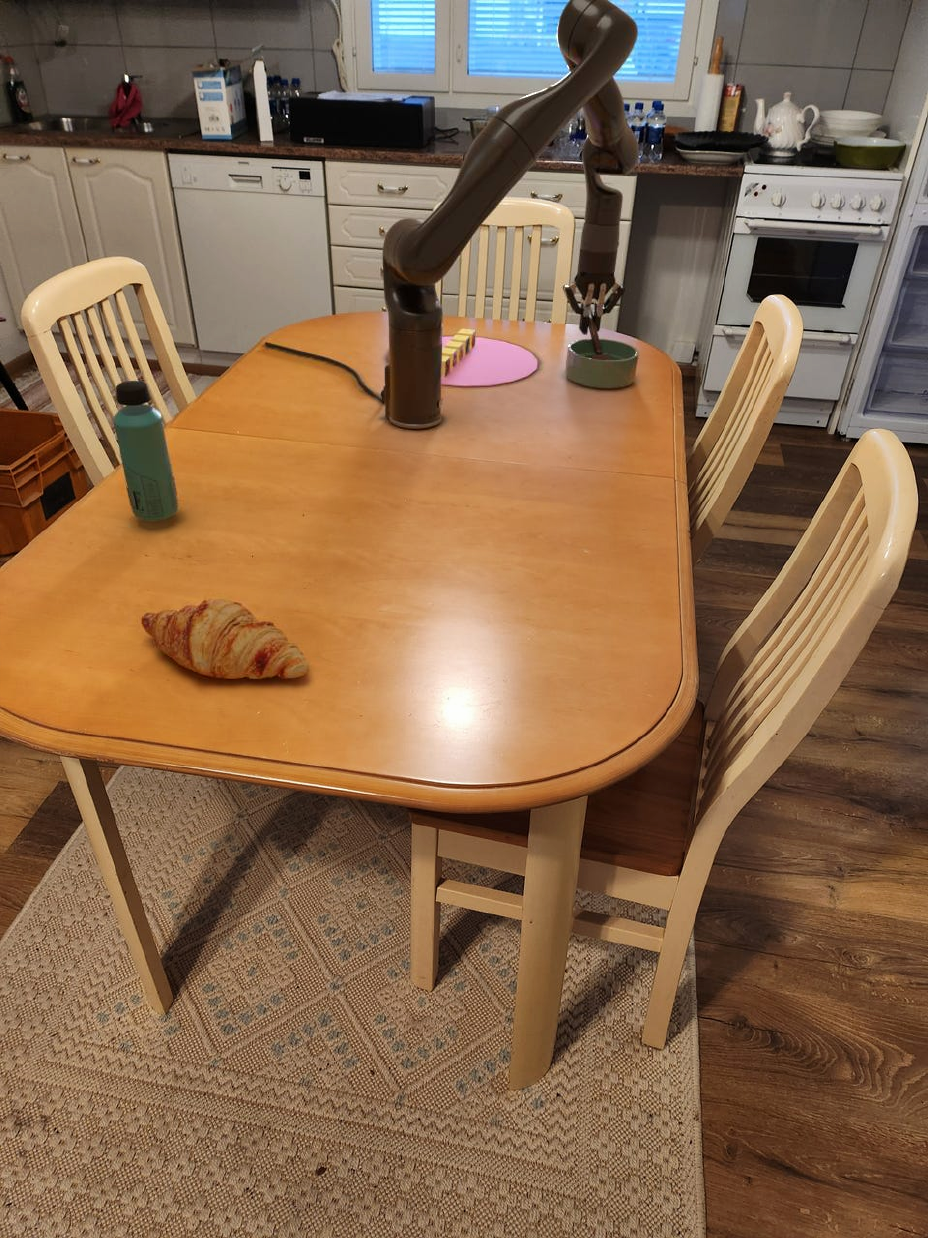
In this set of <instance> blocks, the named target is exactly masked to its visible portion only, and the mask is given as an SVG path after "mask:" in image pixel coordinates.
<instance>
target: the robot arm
mask: <svg viewBox="0 0 928 1238" xmlns="http://www.w3.org/2000/svg"><path fill="white" fill-rule="evenodd" d="M638 34H639V29H638V25H637V22H636V21H635V20H634V18H632V16H630V15H629V14H628V13H627V12H625V11H623V10H622V9H621V8H620V7H618V6H617V5H615V4H614V3H613V2H611V1H610V0H568V2H567V3H566V4H565V6H564V8H563V10H562V12H561V14H560V16H559V19H558V23H557V28H556V41H557V45H558V48H559V51H560V53H561V54H562V57H563V59H564V61H565V65H566V66H567V68H568V70H569V73H567V74H566V75H565V76H564V77H563V78H562V79H560V80H559V81H557V82H556V83H554V84H552V85H551V86H549V87H546V88H544V89H542V90H539V91H536V92H533V93H531V94H528V95H526V96H523V97H520V98H518V99H516V100H513V101H511V102H510V103H508V104H506V105H504V106H503V107H502V108H500V109H498V111H496V113H495V114H494V115H493V116H492V118H491V119H490V120H489V122H488V123H486V125H485V127H483V128H482V129H481V131H480V132H479V133H478V134H477V135H476V137H475V138H474V140H473V141H472V143H471V144H470V146H469V148H468V150H467V151H466V154H465V156H464V159H463V161H462V163H461V166H460V169H459V171H458V175H457V177H456V179H455V181H454V183H453V185H452V187H451V189H450V190H449V192H448V194H447V195H446V197H444V199H443V201H441V203H440V204H439V205H438V206H437V207H436V208H435V210H434V211H432V213H431V214H430V215H429V216H428V217H427V218H426V219H425V220H424V221H422V220H419V219H418V218H411V217H407V218H403V219H400V220H398V221H396V222H395V223H393V224H392V226H390V228H389V229H388V230H387V232H386V235H385V237H384V240H383V243H382V244H383V245H382V278H383V279H382V281H383V282H382V283H383V297H384V298H383V299H384V303H385V308H386V311H387V315H388V317H387V319H388V357H389V358H388V364H387V365H385V366H384V386H383V389H382V390H381V391H380V396H378V395H377V394H376V393H374V391H372V390H371V389H370V388H369V387H368V386H367V385H366V384H365V383H364V382H363V381H362V379H361V377H360V374H359V373H358V372H357V371H356V370H355V369H353V368H352V367H350V366H349V365H346V364H345V363H343V362H340V361H338V360H335V359H333V358H329V357H327V356H324V355H320V354H316V353H312V352H308V351H307V352H306V351H302V350H299V349H294V348H290V347H286V346H283V345H279V344H275V343H271V342H268V341H265V342H264V346H266V347H270V348H273V349H277V350H281V351H285V352H289V353H292V354H296V355H300V356H305V357H309V358H312V359H313V358H314V359H317V360H321V361H324V362H327V363H330V364H334V365H336V366H338V367H340V368H343V369H345V370H346V371H348V372H349V373H351V374H352V375H353V376H354V377H355V379H356V381H357V383H358V385H360V387H361V388H362V389H363V390H364V391H365V392H366V393H367V394H368V395H370V396H371V397H373V398H375V399H377V400H378V401H380V402H381V403H384V411H385V412H384V418H385V419H388V420H389V422H390V423H391V424H392V425H394V426H396V427H400V428H403V429H409V430H424V429H430V428H432V427H435V426H437V425H440V423H441V422H442V405H443V402H444V398H443V396H442V385H441V379H442V337H443V329H444V328H443V325H444V323H443V322H444V310H443V307H442V304H441V302H440V299H439V297H438V293H437V288H436V284H437V283H439V282H440V281H441V280H442V279H443V278H444V277H446V275H447V274H448V272H449V271H450V270H451V269H452V267H453V266H454V264H455V263H456V262H457V260H458V259H459V257H460V256H461V254H462V253H463V251H464V250H465V248H466V247H467V245H468V244H469V242H470V241H471V239H472V238H473V236H475V234H476V232H477V231H478V230H479V228H480V227H481V226H482V224H484V222H485V221H486V220H487V219H488V217H489V216H490V215H492V213H493V212H494V211H495V210H496V209H497V207H498V206H499V205H500V203H501V202H502V201H503V200H504V199H505V198H506V196H507V195H508V194H509V193H510V192H511V190H513V188H514V187H515V186H516V185H517V184H518V183H519V182H520V180H522V178H524V176H525V175H526V173H527V172H528V171H529V170H530V169H531V167H532V166H533V165H534V164H535V163H536V161H537V160H538V159H539V158H540V156H542V154H543V153H544V152H545V150H546V149H547V148H548V147H549V145H550V144H551V143H552V141H553V140H554V139H555V138H556V137H557V136H558V135H559V133H560V132H561V131H562V130H563V129H564V128H565V127H566V125H568V123H569V122H570V121H571V120H572V119H573V118H574V117H575V115H577V114H578V112H579V111H580V110H581V109H582V113H583V116H584V122H585V123H584V124H585V128H586V134H587V136H586V138H585V139H584V142H583V144H582V149H581V158H582V159H581V160H582V167H583V173H584V179H585V189H586V190H585V191H586V194H585V195H586V199H585V210H584V219H583V224H582V230H581V235H580V245H579V255H578V262H577V273H576V275H575V277H574V279H573V281H572V282H571V283H569V284H564V285H563V286H562V291H563V293H564V295H565V297H566V299H567V302H568V304H569V305H570V308H571V310H572V311H573V312H574V313H575V314H576V315H579V323H578V329H579V331H580V332H581V334H582V335H583V336H585V335H588V333H589V332H588V331H589V327H588V323H589V317H588V315H589V309H590V306H591V307H592V300H593V313H592V314H593V317H594V321H595V325H596V329H597V333H598V332H600V329H601V323H602V317H603V315H605V314H611V312H612V311H613V309H614V308H615V306H616V305H617V303H618V302H619V301H620V299H621V298H622V296H623V295H624V293H625V292H626V287H624V286H623V285H622V284H620V283H618V282H617V281H616V277H615V272H616V266H617V265H616V264H617V258H618V250H619V245H620V225H621V217H622V210H623V201H624V195H623V193H622V192H621V191H620V190H619V189H617V188H614V187H610V186H609V185H606V184H605V183H604V182H603V180H602V177H601V175H606V176H616V177H624V176H627V175H630V174H631V173H632V172H633V171H634V170H635V168H636V167H637V165H638V162H639V157H640V147H639V142H638V139H637V136H636V134H635V133H634V131H633V129H632V128H631V126H630V124H629V122H628V121H627V118H626V109H625V103H624V98H623V95H622V92H621V89H620V87H619V85H618V83H617V81H616V80H615V78H614V76H615V75H616V74H617V73H618V72H619V71H620V69H621V68H622V67H623V66H624V64H625V63H626V61H627V60H628V59H629V57H630V56H631V53H632V52H633V50H634V48H635V45H636V42H637V40H638ZM577 290H578V292H579V293H580V305H579V303H578V300H577V299H576V297H575V295H576V293H577ZM610 291H611V293H610V294H609V296H608V297H607V299H606V300H605V298H606V296H607V294H608V293H609V292H610Z"/></svg>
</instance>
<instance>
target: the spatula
mask: <svg viewBox="0 0 928 1238" xmlns="http://www.w3.org/2000/svg"><path fill="white" fill-rule="evenodd" d="M593 314H594V313H593V310H592V305H591V306H590V309H589V315H588V317H589V323H588V331H589V334H590V339H592V343H593V346H594V350H595V354H596V355H591V357H590V358H592V359H598V360H611V358H610V354H602V353H603V351H602V348H601V344H600V340H599V339H600V336H599V333H598V332H597V329H596V325H595V321H594V317H593Z"/></svg>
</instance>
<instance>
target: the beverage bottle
mask: <svg viewBox="0 0 928 1238" xmlns="http://www.w3.org/2000/svg"><path fill="white" fill-rule="evenodd" d="M115 394H116V403H117V404H119V405H121V406H123V407H120V409H119V410H118V411H117V412H116V413H115V414H114V416H113V418H112V424H113V425H114V426H113V427H114V431H115V435H116V439H117V445H118V449H119V451H117V452H118V454H119V455H118V456H119V458H120V460H121V464H122V469H123V475H124V478H123V479H124V482H125V484H126V486H125V488H126V492H127V498H128V503H129V505H130V510H131V512H132V513H133V515H134V516H135V517H136V519H139V520H141V521H144V522H158V521H163V520H167V519H169V518H172V517H174V515H176V514H177V512H178V510H179V506H180V504H179V503H180V502H179V498H178V491H177V486H176V481H175V477H174V476H175V474H174V472H173V466H172V462H171V457H170V454H169V450H168V444H167V438H166V433H165V429H164V427H165V426H164V422H163V414H162V413H161V412H160V411H159V410H157V409H156V408H155V407H153V406H152V405H150V404H147V403H148V402H150V401H151V395H150V393H149V389H148V385H147V383H146V382H144V381H140V380H127V381H123V382H119V383H118V384H117V385H116V386H115Z"/></svg>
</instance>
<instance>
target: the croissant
mask: <svg viewBox="0 0 928 1238" xmlns="http://www.w3.org/2000/svg"><path fill="white" fill-rule="evenodd" d="M140 622H141V626H142V627H143V630H144V631H145V633H147V634H148V635H149V636H151V637H152V638H153V640H154V642H155V644H156V645H155V646H157V648H158V649H159V650H160V651H161V652H163V654H165V655H167V656H168V657H169V658H171V659H172V660H173V661H175V662H176V663H177V664H178V665H179V666H181V667H182V668H183V667H184V668H185V669H187V670H190V671H192V672H194V673H195V672H196V673H198V674H199V675H203V676H208V677H211V678H215V679H231V680H232V679H243V678H248V680H249V679H250V680H262V679H266V678H270V679H271V678H273V677H274V676H275V677H278V678H281V679H295V678H300V677H303V676H304V675H306V674H308V672H309V671H310V664H309V662H307V659H306V657H305V656H304V653H303V651H301V649H300V647H299V646H298V644H296V643H292V642H290V641H289V640H288V637H287V636H286V634H285V633H284V632H283V630H282V629H280V628H278V627H276V625H275V624H274V622H272V621H259V619H258V618H257V617H256V616H254V614H253V612H251V610H250V609H248V608H246V607H245V606H243V605H242V603H241V602H238V601H234V600H230V599H229V600H227V599H223V598H217V599H216V598H215V599H211V598H209V599H207V600H206V599H204V600H202V602H201V603H200V604H199V605H198V606H197V605H193V604H189V605H186V606H184V607H182V608H181V609H179V611H178V610H175V609H165V610H164V609H163V610H161V611H159V612H157V613H153V612H146V613H145V614H144V615H143V616H141V621H140Z"/></svg>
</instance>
